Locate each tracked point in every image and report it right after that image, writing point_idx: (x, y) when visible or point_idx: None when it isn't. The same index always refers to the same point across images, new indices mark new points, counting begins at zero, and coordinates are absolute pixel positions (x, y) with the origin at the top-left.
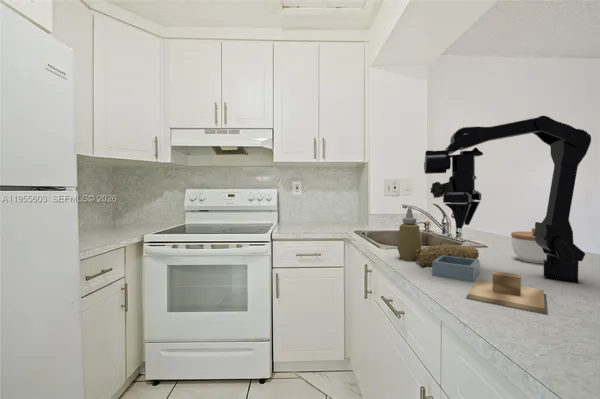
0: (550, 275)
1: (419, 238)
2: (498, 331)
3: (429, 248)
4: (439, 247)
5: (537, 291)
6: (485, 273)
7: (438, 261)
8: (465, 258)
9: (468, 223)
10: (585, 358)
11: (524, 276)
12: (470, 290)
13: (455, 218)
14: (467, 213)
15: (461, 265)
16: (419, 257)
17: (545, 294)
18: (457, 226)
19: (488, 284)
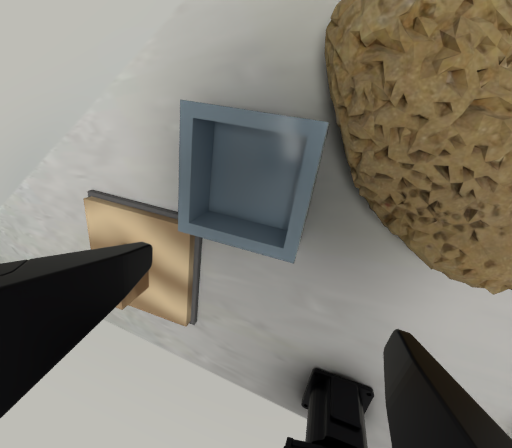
0: (325, 386)
1: None
2: (28, 221)
3: (391, 36)
4: (408, 101)
5: (170, 314)
6: (334, 259)
7: (213, 120)
8: (294, 220)
9: (386, 358)
10: None
11: (340, 341)
12: (136, 204)
13: (54, 262)
14: (29, 381)
15: (179, 200)
16: None
17: (191, 323)
18: (131, 246)
19: (163, 244)
